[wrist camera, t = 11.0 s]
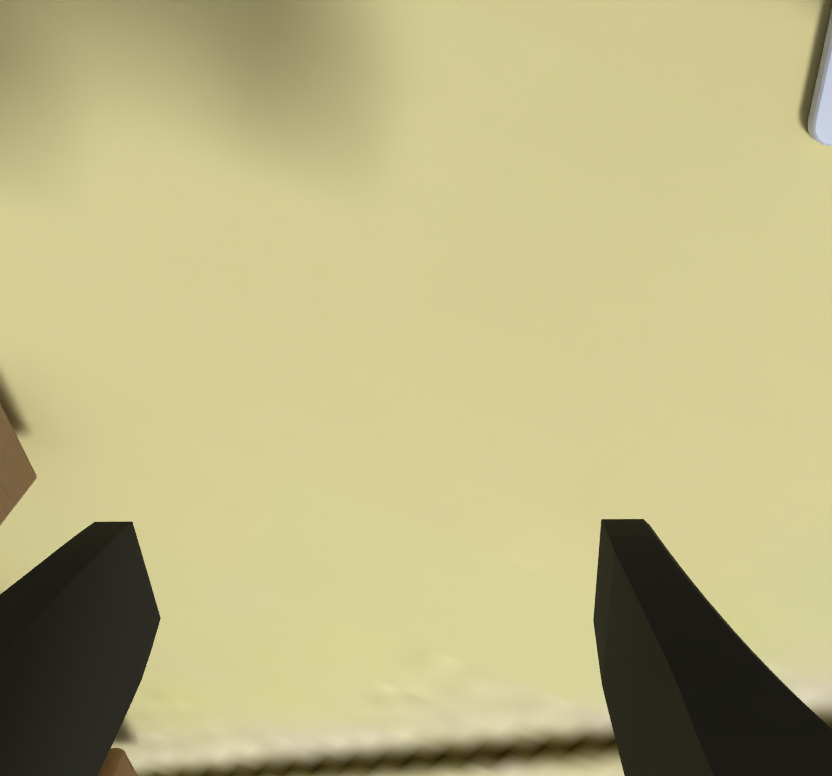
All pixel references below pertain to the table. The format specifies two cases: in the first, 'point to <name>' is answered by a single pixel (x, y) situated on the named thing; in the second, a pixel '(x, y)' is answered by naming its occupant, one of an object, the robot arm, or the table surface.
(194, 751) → the table surface
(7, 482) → the wooden block set
